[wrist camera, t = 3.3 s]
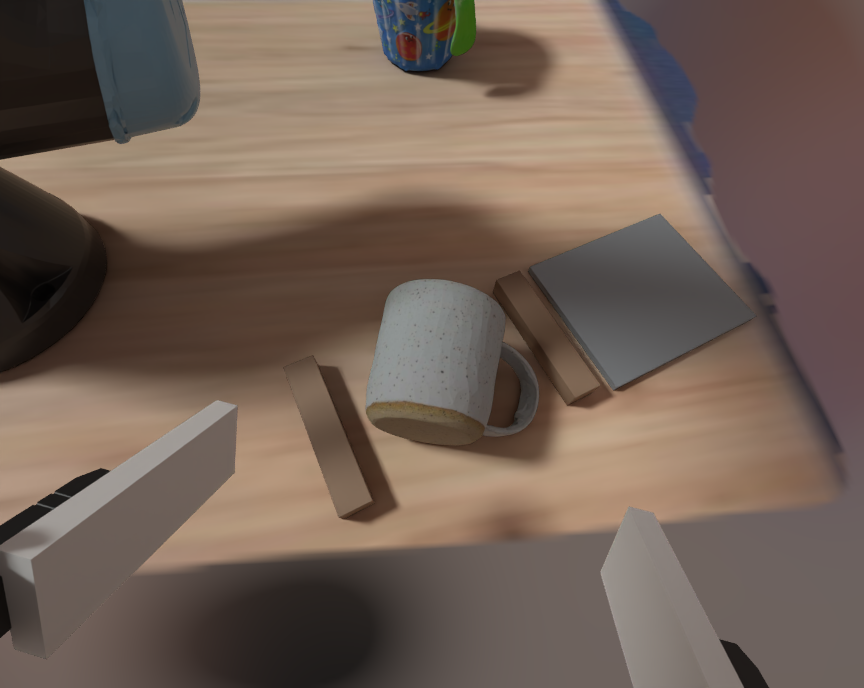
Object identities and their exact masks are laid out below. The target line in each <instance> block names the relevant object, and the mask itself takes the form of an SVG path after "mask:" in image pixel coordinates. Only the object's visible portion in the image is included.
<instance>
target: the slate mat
mask: <svg viewBox="0 0 864 688" xmlns="http://www.w3.org/2000/svg"><path fill="white" fill-rule="evenodd" d="M528 272H529V273H530V275H531V276H532V277H533V279H534V280H535V282H536V283H537V284H538V286H539V287H540V289H541V290H542V291H543V293H544V294H545V296H546V297H547V298H548V300H549V301H550V303H551V304H552V305H553V307H554V308H555V310H556V311H557V312H558V314H559V315H560V317H561V318H562V319H563V321H564V322H565V324H566V325H567V326H568V328H569V329H570V331H571V332H572V333H573V335H574V336H575V338H576V339H577V340H578V342H579V343H580V345H581V346H582V347H583V349H584V350H585V352H586V353H587V354H588V356H589V357H590V359H591V360H592V361H593V363H594V364H595V366H596V367H597V368H598V370H599V371H600V373H601V374H602V375H603V377H604V378H605V380H606V381H607V382H608V384H609V385H610V387H611V388H612V389H613V390H615V389H617V388H619V387H621V386H623V385H625V384H627V383H629V382H631V381H633V380H635V379H637V378H639V377H640V376H642V375H644V374H646V373H648V372H650V371H652V370H654V369H656V368H658V367H660V366H662V365H664V364H666V363H668V362H670V361H672V360H674V359H676V358H677V357H679V356H681V355H683V354H685V353H687V352H689V351H691V350H693V349H695V348H697V347H699V346H701V345H703V344H705V343H707V342H709V341H711V340H713V339H714V338H716V337H718V336H720V335H722V334H724V333H726V332H728V331H730V330H732V329H734V328H736V327H738V326H740V325H742V324H744V323H746V322H748V321H750V320H751V319H753V318H754V317H756V315H755V314H754V313H753V312H752V310H751V309H750V308H749V307H748V306H747V305H746V304H745V303H744V302H743V301H742V300H741V299H740V298H739V297H738V296H737V295H736V294H735V292H734V291H733V290H732V289H731V288H730V287H729V286H728V285H727V284H726V283H725V282H724V281H723V280H722V279H721V278H720V277H719V276H718V274H717V273H716V272H715V271H714V270H713V269H712V268H711V267H710V266H709V265H708V264H707V263H706V262H705V261H704V260H703V259H702V258H701V256H700V255H699V254H698V253H697V252H696V251H695V250H694V249H693V248H692V247H691V246H690V245H689V244H688V243H687V242H686V241H685V240H684V238H683V237H682V236H681V235H680V234H679V233H678V232H677V231H676V230H675V229H674V228H673V227H672V226H671V225H670V224H669V223H668V222H667V220H666V219H665V218H664V217H663V216H662V215H661V214H658V215H655V216H653V217H650V218H648V219H646V220H643V221H641V222H638V223H636V224H633V225H631V226H628V227H626V228H624V229H621V230H619V231H616V232H614V233H611V234H609V235H606V236H604V237H602V238H599V239H597V240H594V241H592V242H589V243H587V244H584V245H582V246H580V247H577V248H575V249H572V250H570V251H567V252H565V253H562V254H560V255H558V256H555V257H553V258H550V259H548V260H545V261H543V262H540V263H538V264H536V265H533V266H531V267H530V268H529V271H528Z"/></svg>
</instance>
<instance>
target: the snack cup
mask: <svg viewBox="0 0 864 688" xmlns="http://www.w3.org/2000/svg"><path fill="white" fill-rule="evenodd" d="M373 4H374V10H375V13H376V17H377V24H378V28H379V33H380V37H381V41H382V46H383V51H384V54H385V55H386V56H387V58H388V60H390V61H391V62H392V63H394V64H396V65H397V66H399V67H400V68H401V69H403V70H405V71H408V70H412V71H428V70H432V69H436V70H437V69H439V68H440V67H442V66H443V64H445V63H446V62H447V61H448V60H449V59H450V58H451V56H452V55H454V56H459V55H461V54H464V53H465V52H467V51H468V50H469V49H470V48H471V47H472V45H473V43H474V41H475V38H476V18H475V4H474V0H373Z"/></svg>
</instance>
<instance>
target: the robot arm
mask: <svg viewBox="0 0 864 688" xmlns="http://www.w3.org/2000/svg"><path fill="white" fill-rule="evenodd" d="M199 103H200V80H199V73H198V67H197V62H196V57H195V53H194V48H193V44H192V39H191V35H190V30H189V26H188V22H187V18H186V14H185V10H184V6H183V2H182V0H0V160H1V159H7V158H13V157H18V156H24V155H30V154H36V153H41V152H47V151H53V150H59V149H64V148H70V147H76V146H82V145H87V144H93V143H99V142H105V141H110V140H115V141H116V142H117V143H118V144H124V143H127V142H129V141H130V139H131V137H134V136H139V135H143V134H148V133H152V132H157V131H161V130H166V129H170V128H175V127H179V126H181V125H183V124H185V123H187V122H188V121H190V120H191V119H192V118H193V116H194V115H195V113H196V112H197V109H198V106H199ZM106 264H107V259H106V250H105V247H104V244H103V241H102V239H101V237H100V236H99V234H98V233H97V231H96V230H95V229H94V228H93V227H92V226H91V225H90V224H89V223H88V222H87V221H86V220H85V219H84V218H83V217H82V216H81V215H80V214H79V213H78V212H77V211H76V210H75V209H74V208H72V207H71V206H70V205H68V204H67V203H66V202H64V201H63V200H61V199H59V198H58V197H56V196H54V195H52V194H50V193H48V192H46V191H44V190H42V189H40V188H39V187H37V186H35V185H33V184H31V183H29V182H28V181H26V180H24V179H22V178H20V177H18V176H16V175H15V174H13V173H11V172H9V171H7V170H5V169H3V168H1V167H0V372H1V371H4V370H7V369H9V368H12V367H14V366H16V365H18V364H20V363H22V362H24V361H26V360H28V359H30V358H32V357H34V356H35V355H37V354H39V353H40V352H42V351H44V350H45V349H47V348H48V347H49V346H51V345H52V344H54V343H55V342H56V341H58V340H59V339H60V338H61V337H63V336H64V335H65V334H66V333H67V332H68V331H69V330H70V329H71V328H72V327H73V326H75V324H76V323H77V322H78V321H79V320H80V319H81V318H82V317H83V315H84V314H85V313H86V312H87V310H88V309H89V308H90V306H91V305H92V303H93V302H94V300H95V298H96V296H97V295H98V293H99V290H100V288H101V286H102V283H103V280H104V276H105V272H106ZM237 410H238V405H234V404H230V403H226V402H222V401H218V400H216V401H214V402H213V403H212V404H210V405H209V406H207V407H206V408H204V409H203V410H201V411H200V412H198V413H197V414H195V415H194V416H192V417H191V418H189V419H188V420H186V421H185V422H183V423H182V424H180V425H179V426H177V427H176V428H174V429H173V430H171V431H170V432H168V433H167V434H165V435H164V436H162V437H161V438H159V439H158V440H156V441H155V442H153V443H152V444H150V445H149V446H147V447H146V448H144V449H143V450H141V451H140V452H138V453H137V454H135V455H134V456H132V457H131V458H129V459H128V460H127V461H125V462H124V463H122V464H121V465H119V466H118V467H116V468H115V469H113V470H112V471H109V470H106V469H102V468H100V469H98V470H95V471H93V472H90V473H87V474H85V475H82V476H79V477H77V478H75V479H73V480H72V481H70V482H69V483H67V484H65V485H64V486H62V487H61V488H59V489H57V490H56V491H55V493H54V494H50V495H48V496H46V497H45V498H43V499H42V500H40V501H38V502H37V504H36V505H32V506H31V507H29V508H27V509H26V510H24V511H23V512H21V513H19V514H18V515H16V516H15V517H13V518H12V519H10V520H8V521H7V522H5V523H4V524H2V525H0V638H1V637H2V636H3V635H4V634H5V633H6V632H8V631H9V630H10V631H11V636H12V641H13V646H14V649H15V650H19V651H22V652H25V653H28V654H31V655H34V656H37V657H40V658H43V659H47V658H49V657H50V655H52V654H53V653H54V651H56V649H58V648H59V647H60V646H61V645H62V644H63V642H64V641H66V640H67V639H68V638H69V637H70V636H71V634H73V633H74V632H75V631H76V630H77V629H78V628H79V627H80V626H81V625H82V624H83V623H84V622H85V621H86V620H87V619H88V618H89V617H90V616H91V615H92V614H93V613H94V612H95V611H96V610H97V609H98V608H99V607H100V606H101V605H102V604H103V603H104V602H105V601H106V600H107V599H108V598H109V597H110V596H111V595H112V594H113V593H114V592H115V591H116V590H117V589H118V588H119V587H120V586H121V585H122V584H123V583H124V582H125V581H126V580H127V579H128V578H129V577H130V576H131V575H132V574H133V573H134V572H135V571H136V570H137V569H138V568H139V567H140V566H141V565H142V564H143V563H144V562H145V561H146V560H147V559H148V558H149V557H150V556H151V555H152V554H153V553H154V552H155V551H156V550H157V549H158V548H159V547H160V546H161V545H162V544H163V543H164V542H165V541H166V540H167V539H168V538H169V537H170V536H171V535H172V534H173V533H174V532H175V531H176V530H177V529H178V528H179V527H180V526H181V525H182V524H183V523H184V522H186V521H187V520H188V519H189V518H190V517H191V516H192V515H193V514H194V513H195V512H196V511H197V510H198V509H199V508H200V507H201V506H202V505H203V504H204V503H205V502H206V501H207V500H208V499H209V498H210V497H211V496H212V495H213V494H214V493H215V492H216V491H217V490H218V489H219V488H220V487H221V486H222V485H223V484H224V483H225V482H226V481H227V480H228V479H229V478H230V477H231V476H232V475H233V474H234V473H235V452H236V431H237ZM600 573H601V577H602V580H603V584H604V587H605V591H606V594H607V598H608V601H609V605H610V608H611V612H612V615H613V619H614V622H615V626H616V629H617V632H618V636H619V640H620V643H621V647H622V650H623V654H624V657H625V661H626V664H627V668H628V671H629V675H630V678H631V682H632V685H633V688H769V687H768V685H767V684H766V682H765V680H764V679H763V677H762V675H761V673H760V672H759V670H758V668H757V667H756V666H755V665H754V664H753V662H752V661H751V660H750V659H749V658H748V657H747V655H745V653H744V652H743V651H742V650H741V649H740V647H739V646H738V645H737V644H735V643H731V642H727V641H724V640H720V639H719V638H718V636H717V635H716V633H715V631H714V629H713V627H712V625H711V623H710V621H709V619H708V617H707V615H706V613H705V611H704V609H703V607H702V606H701V604H700V602H699V600H698V598H697V596H696V594H695V592H694V590H693V588H692V586H691V584H690V582H689V580H688V579H687V577H686V575H685V573H684V571H683V569H682V567H681V566H680V563H679V561H678V559H677V558H676V555H675V553H674V552H673V550H672V548H671V546H670V544H669V542H668V540H667V538H666V536H665V534H664V532H663V530H662V528H661V526H660V524H659V523H658V521H657V519H656V517H655V515H654V513H652V512H648V511H644V510H641V509H637V508H633V507H628V509H627V512H626V514H625V516H624V519H623V521H622V523H621V526H620V528H619V530H618V532H617V535H616V537H615V540H614V542H613V544H612V546H611V549H610V551H609V553H608V556H607V558H606V560H605V563H604V565H603V568H602V570H601V572H600Z"/></svg>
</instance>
